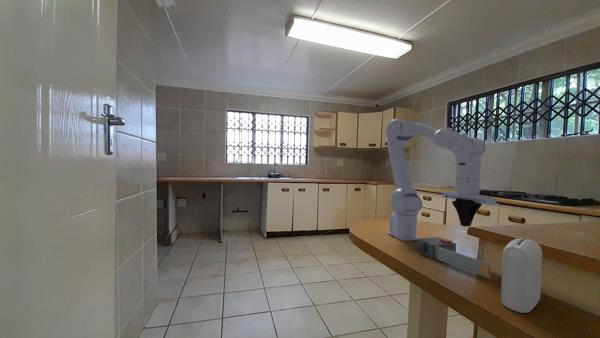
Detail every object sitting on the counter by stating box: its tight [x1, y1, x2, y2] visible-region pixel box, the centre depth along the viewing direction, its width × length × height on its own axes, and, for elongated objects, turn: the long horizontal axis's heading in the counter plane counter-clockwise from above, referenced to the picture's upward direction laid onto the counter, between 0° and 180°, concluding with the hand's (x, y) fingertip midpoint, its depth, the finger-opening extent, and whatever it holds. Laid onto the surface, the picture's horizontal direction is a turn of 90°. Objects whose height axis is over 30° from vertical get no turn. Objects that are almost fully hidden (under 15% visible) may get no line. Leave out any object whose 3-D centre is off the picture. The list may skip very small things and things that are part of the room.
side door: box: [434, 245, 491, 279], centre depth 59 cm, size 1×12×4 cm, turn 29°
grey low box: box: [416, 236, 457, 260], centre depth 68 cm, size 6×9×5 cm, turn 103°
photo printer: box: [500, 237, 543, 314], centre depth 44 cm, size 10×4×12 cm, turn 123°
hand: (465, 225), depth 66 cm, fingers closed
